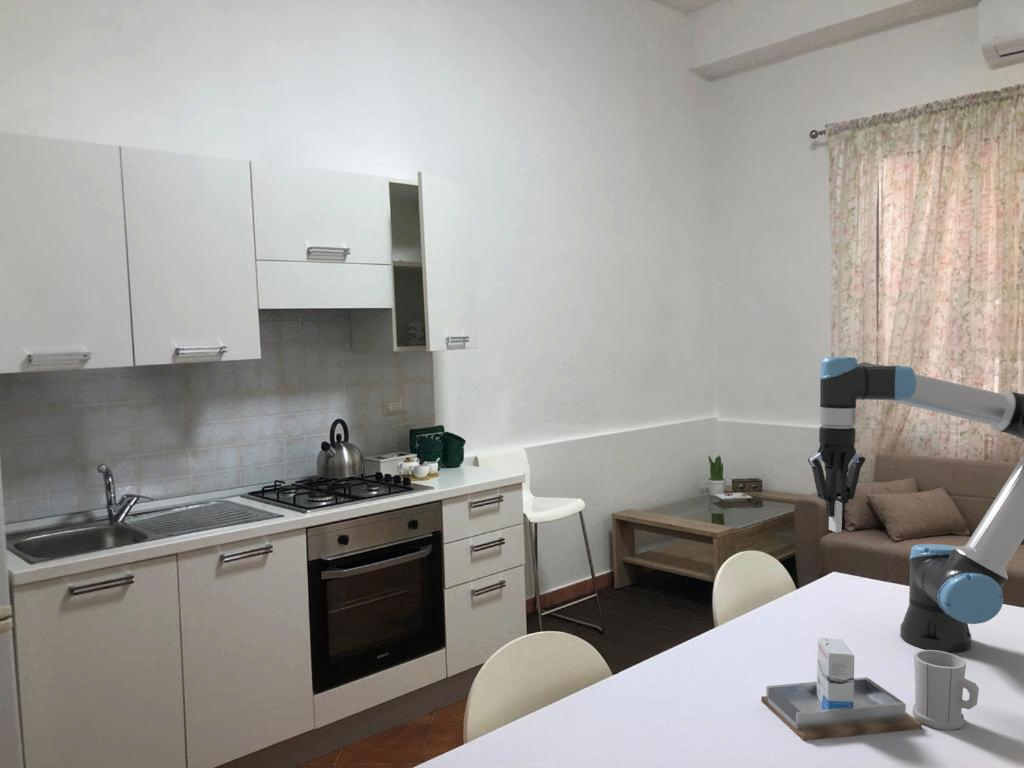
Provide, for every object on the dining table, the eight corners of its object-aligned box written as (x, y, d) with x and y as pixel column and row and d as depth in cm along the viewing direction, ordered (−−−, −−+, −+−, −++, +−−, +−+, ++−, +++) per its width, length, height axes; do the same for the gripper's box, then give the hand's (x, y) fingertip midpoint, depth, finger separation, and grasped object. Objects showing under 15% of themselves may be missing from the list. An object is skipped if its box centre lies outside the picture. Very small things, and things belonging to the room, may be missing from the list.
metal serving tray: (866, 691, 167) (867, 677, 167) (905, 719, 155) (905, 703, 155) (766, 700, 163) (766, 686, 163) (797, 730, 151) (798, 714, 151)
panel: (869, 691, 169) (869, 686, 169) (921, 728, 153) (921, 723, 153) (761, 701, 165) (761, 696, 165) (803, 740, 149) (803, 735, 149)
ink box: (854, 715, 154) (855, 654, 153) (827, 714, 155) (828, 653, 154) (841, 695, 163) (842, 637, 162) (815, 694, 163) (816, 636, 163)
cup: (969, 714, 159) (971, 653, 158) (978, 736, 150) (981, 672, 150) (909, 706, 162) (910, 647, 162) (915, 727, 154) (917, 665, 153)
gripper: (854, 423, 187) (851, 525, 189) (801, 424, 185) (799, 528, 187) (874, 427, 180) (871, 533, 182) (819, 428, 178) (817, 536, 179)
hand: (835, 530), depth 184 cm, fingers closed
